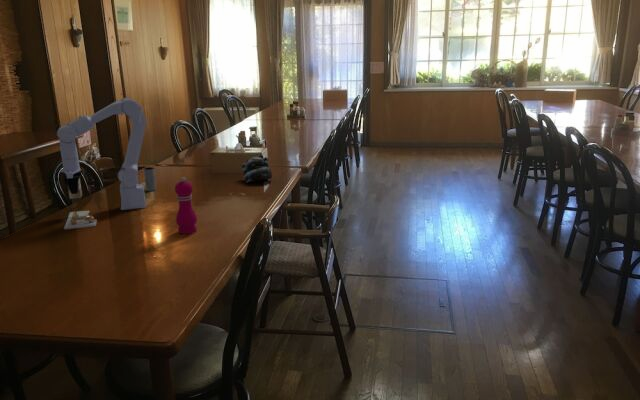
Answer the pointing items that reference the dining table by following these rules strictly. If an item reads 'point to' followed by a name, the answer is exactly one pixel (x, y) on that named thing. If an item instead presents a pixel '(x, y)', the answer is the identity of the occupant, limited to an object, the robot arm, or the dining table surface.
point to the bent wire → (80, 218)
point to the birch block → (77, 193)
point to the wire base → (79, 224)
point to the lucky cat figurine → (256, 169)
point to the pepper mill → (185, 208)
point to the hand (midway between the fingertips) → (75, 192)
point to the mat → (79, 213)
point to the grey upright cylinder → (150, 179)
